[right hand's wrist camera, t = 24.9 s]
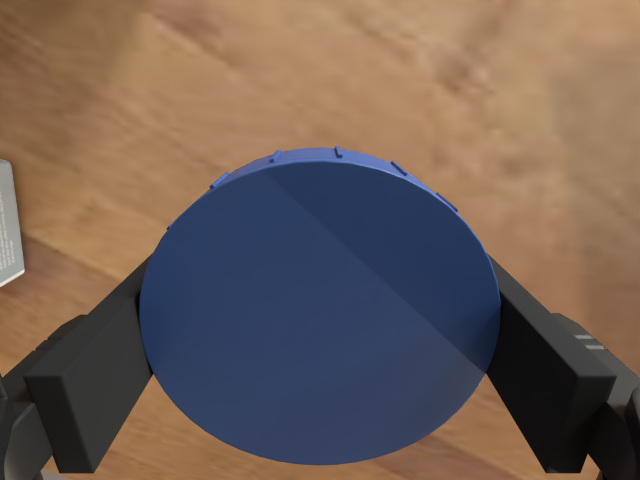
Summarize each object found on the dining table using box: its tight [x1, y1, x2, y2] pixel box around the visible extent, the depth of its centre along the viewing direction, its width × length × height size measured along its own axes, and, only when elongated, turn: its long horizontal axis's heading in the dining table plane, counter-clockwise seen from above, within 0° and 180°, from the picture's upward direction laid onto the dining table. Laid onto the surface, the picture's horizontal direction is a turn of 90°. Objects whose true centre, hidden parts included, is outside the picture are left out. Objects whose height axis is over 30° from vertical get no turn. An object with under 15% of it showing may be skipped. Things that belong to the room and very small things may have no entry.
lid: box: [139, 146, 501, 465], centre depth 11 cm, size 10×10×2 cm
